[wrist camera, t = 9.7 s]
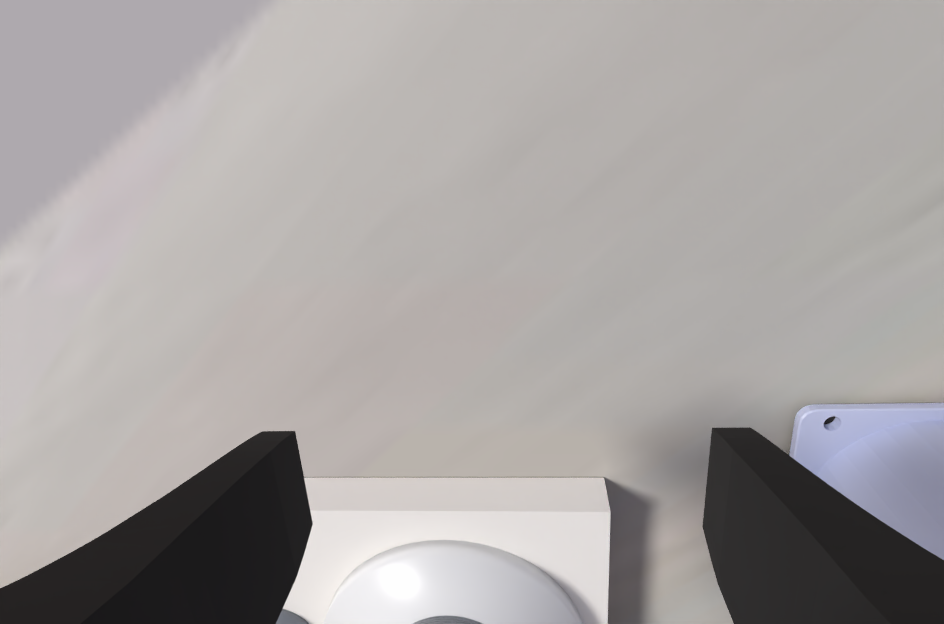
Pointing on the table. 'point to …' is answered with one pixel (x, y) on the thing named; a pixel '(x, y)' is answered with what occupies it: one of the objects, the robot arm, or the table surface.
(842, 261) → the table surface
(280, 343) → the table surface
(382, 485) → the kitchen scale
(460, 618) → the cylinder
